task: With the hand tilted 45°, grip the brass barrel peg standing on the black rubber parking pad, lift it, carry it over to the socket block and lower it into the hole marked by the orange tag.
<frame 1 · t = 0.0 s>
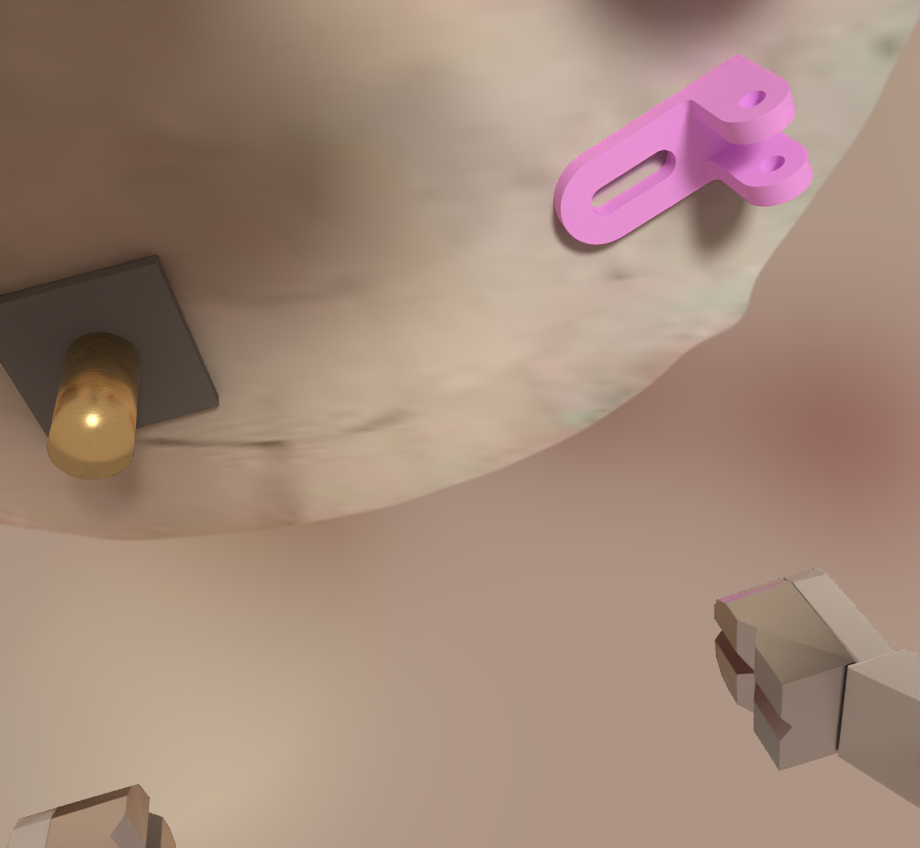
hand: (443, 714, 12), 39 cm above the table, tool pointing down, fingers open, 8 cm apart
brass peg: (103, 362, 49), point 1 cm above the table, touching parking pad
parking pad: (104, 352, 50), on the table
bracket: (650, 155, 51), on the table
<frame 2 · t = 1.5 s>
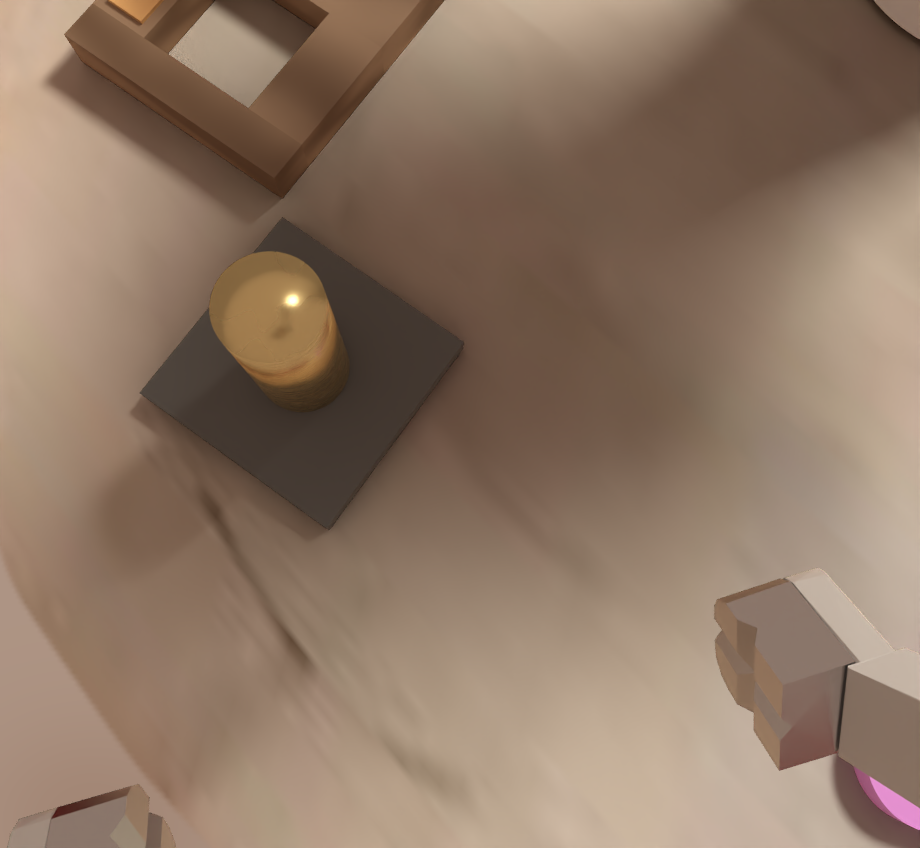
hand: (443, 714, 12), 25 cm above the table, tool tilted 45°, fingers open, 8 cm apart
brass peg: (303, 367, 37), point 1 cm above the table, touching parking pad
parking pad: (306, 373, 38), on the table
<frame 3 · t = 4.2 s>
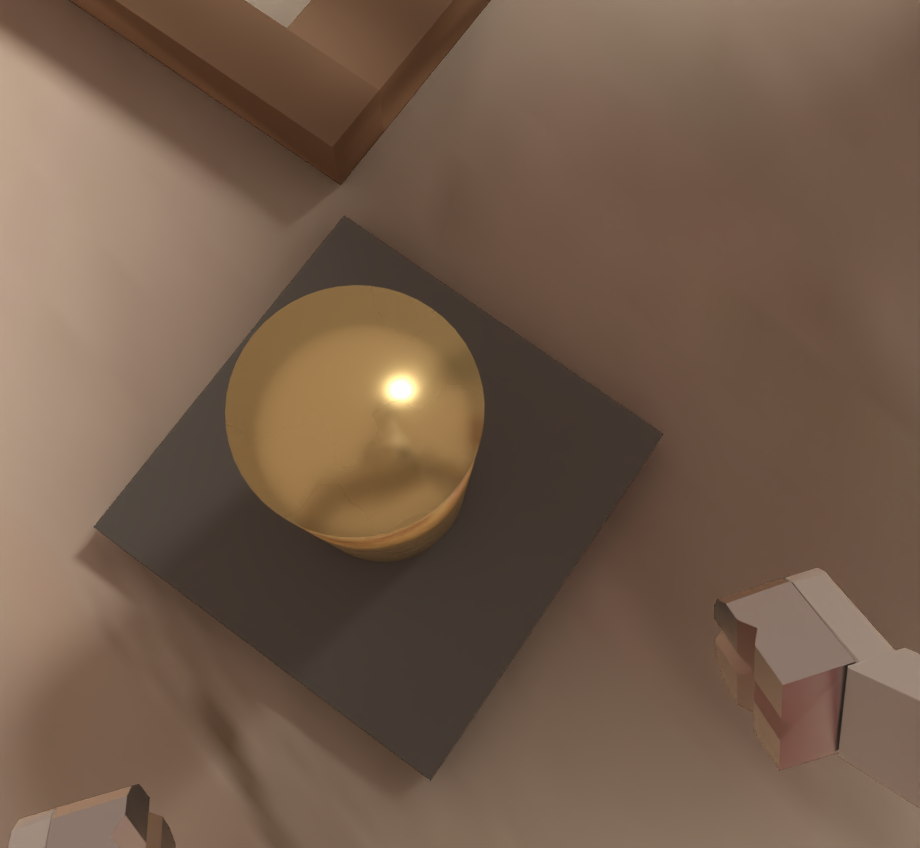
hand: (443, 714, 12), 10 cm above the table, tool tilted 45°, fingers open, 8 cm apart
brass peg: (384, 479, 21), point 1 cm above the table, touching parking pad
parking pad: (386, 485, 22), on the table
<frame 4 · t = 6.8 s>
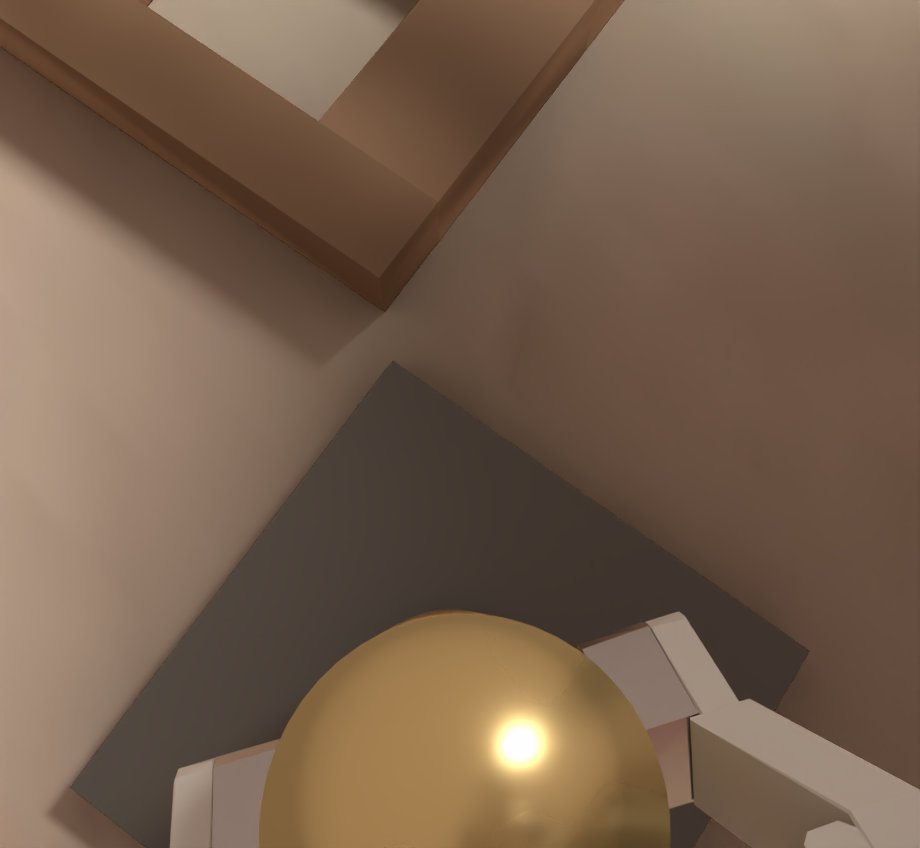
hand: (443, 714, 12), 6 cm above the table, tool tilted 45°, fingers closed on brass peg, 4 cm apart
brass peg: (450, 717, 16), point 1 cm above the table, touching gripper, parking pad
parking pad: (449, 710, 17), on the table
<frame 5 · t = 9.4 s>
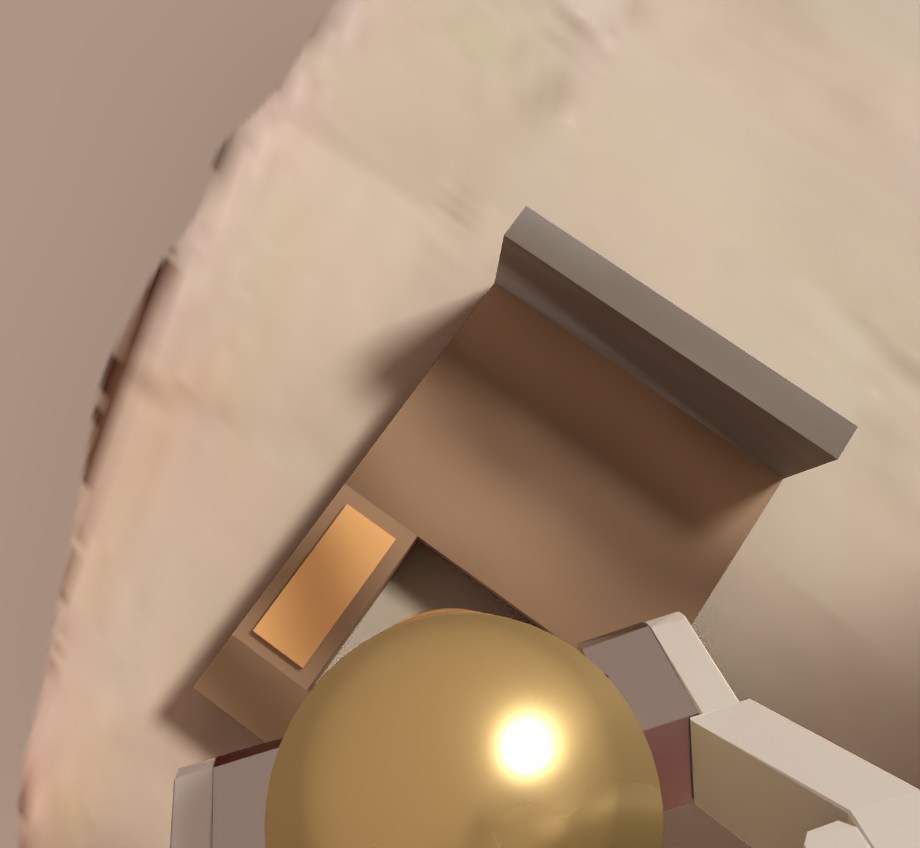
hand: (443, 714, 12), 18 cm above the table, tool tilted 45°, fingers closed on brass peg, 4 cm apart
brass peg: (450, 714, 16), point 13 cm above the table, touching gripper
socket block: (503, 566, 30), on the table
when the fingers open (6 cm above the table, at t = 12.2 s): brass peg stays where it is, resting in socket block.
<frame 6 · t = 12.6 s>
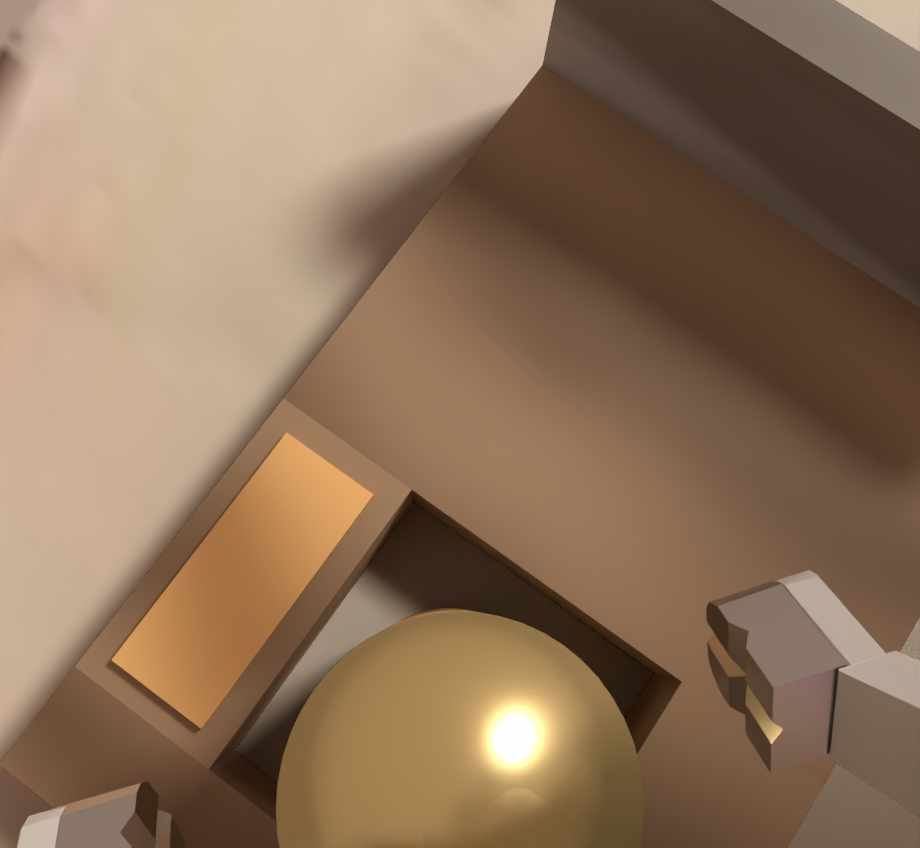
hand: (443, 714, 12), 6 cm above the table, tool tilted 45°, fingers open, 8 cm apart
brass peg: (448, 710, 17), resting in socket block
socket block: (559, 546, 18), on the table
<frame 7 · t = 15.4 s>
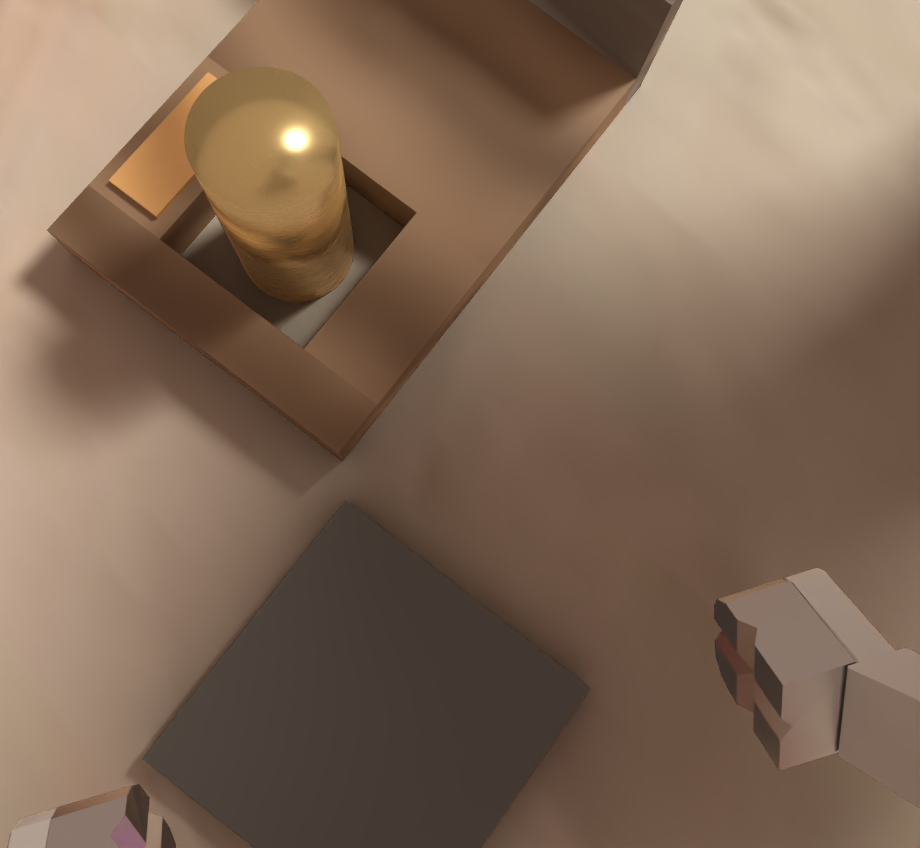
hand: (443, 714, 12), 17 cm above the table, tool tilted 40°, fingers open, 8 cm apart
brass peg: (297, 247, 30), resting in socket block
parking pad: (372, 717, 28), on the table
socket block: (367, 165, 31), on the table
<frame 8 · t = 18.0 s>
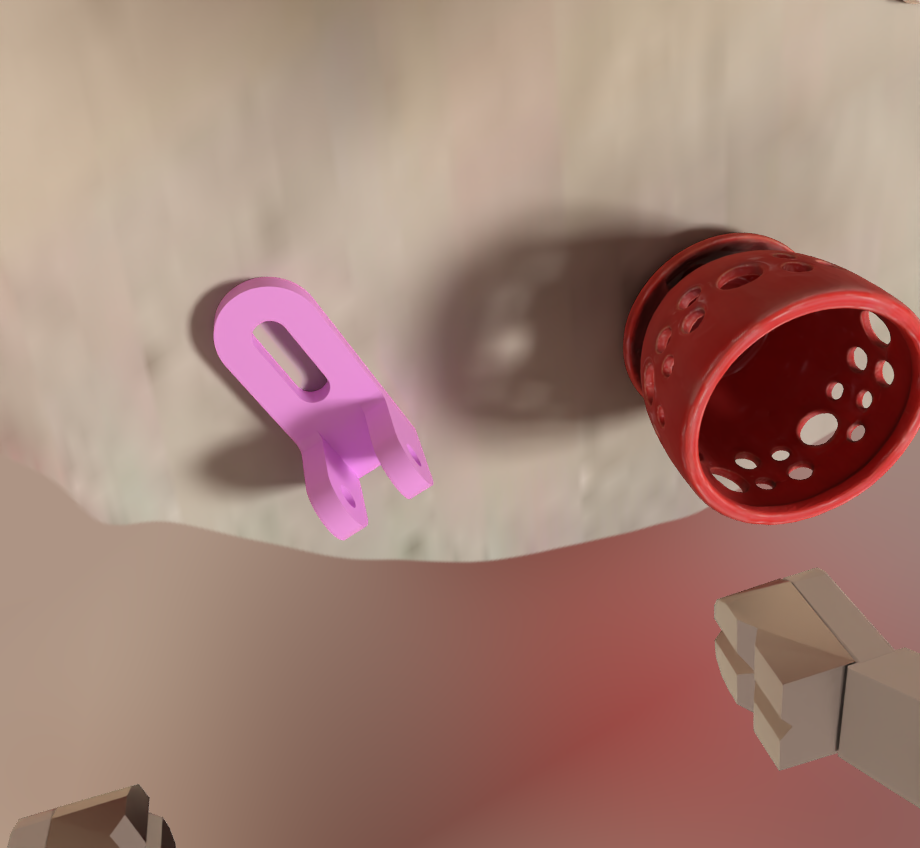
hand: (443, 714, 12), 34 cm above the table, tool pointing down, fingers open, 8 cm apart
plant pot: (699, 315, 51), on the table
bracket: (310, 373, 47), on the table
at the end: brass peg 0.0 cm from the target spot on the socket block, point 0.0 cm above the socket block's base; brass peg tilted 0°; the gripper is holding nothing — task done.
